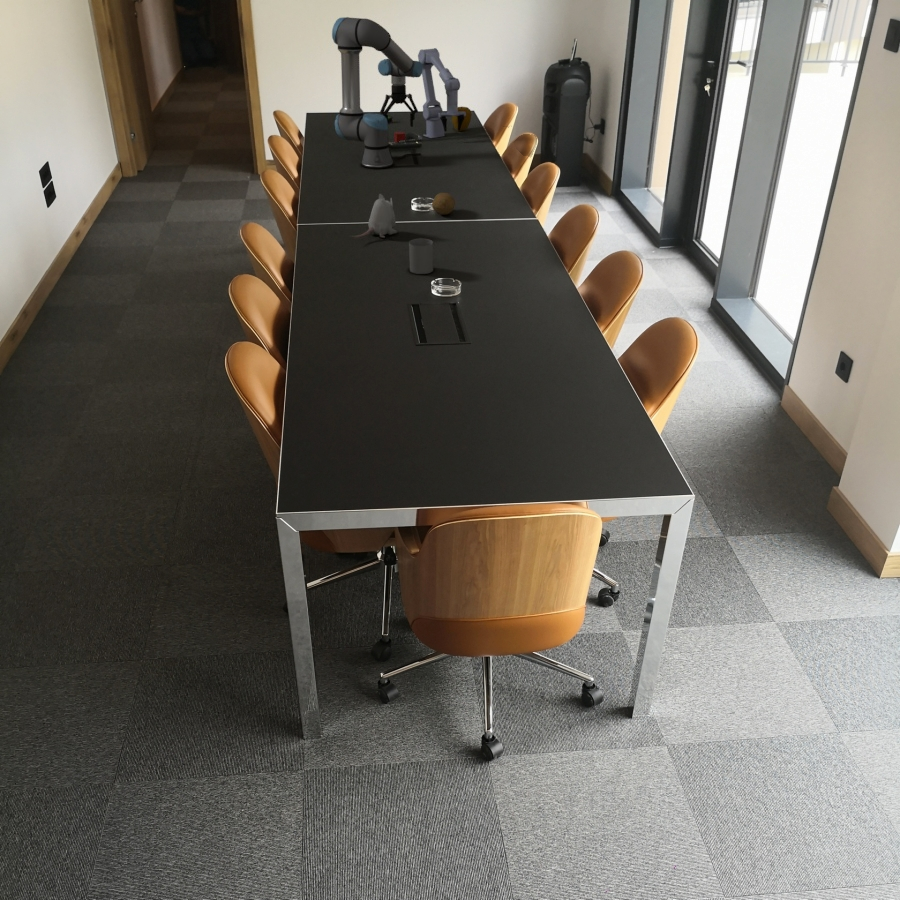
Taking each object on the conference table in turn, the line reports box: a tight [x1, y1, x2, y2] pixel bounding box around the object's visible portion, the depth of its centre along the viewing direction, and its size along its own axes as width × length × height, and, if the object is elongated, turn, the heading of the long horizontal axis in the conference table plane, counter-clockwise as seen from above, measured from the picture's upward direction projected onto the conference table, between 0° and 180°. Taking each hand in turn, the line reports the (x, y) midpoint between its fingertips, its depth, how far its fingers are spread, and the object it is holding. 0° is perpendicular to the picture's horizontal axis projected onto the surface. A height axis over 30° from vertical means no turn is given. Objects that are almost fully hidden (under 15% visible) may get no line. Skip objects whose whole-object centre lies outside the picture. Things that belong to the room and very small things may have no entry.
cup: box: [408, 237, 434, 275], centre depth 305 cm, size 8×8×10 cm
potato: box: [431, 192, 456, 216], centre depth 360 cm, size 10×14×8 cm
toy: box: [350, 193, 398, 239], centre depth 333 cm, size 9×24×15 cm, turn 137°
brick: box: [393, 131, 406, 143], centre depth 467 cm, size 5×5×5 cm
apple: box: [451, 105, 472, 132], centre depth 487 cm, size 11×11×13 cm
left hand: (399, 127), depth 464 cm, fingers open, 13 cm apart
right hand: (452, 130), depth 463 cm, fingers open, 7 cm apart
